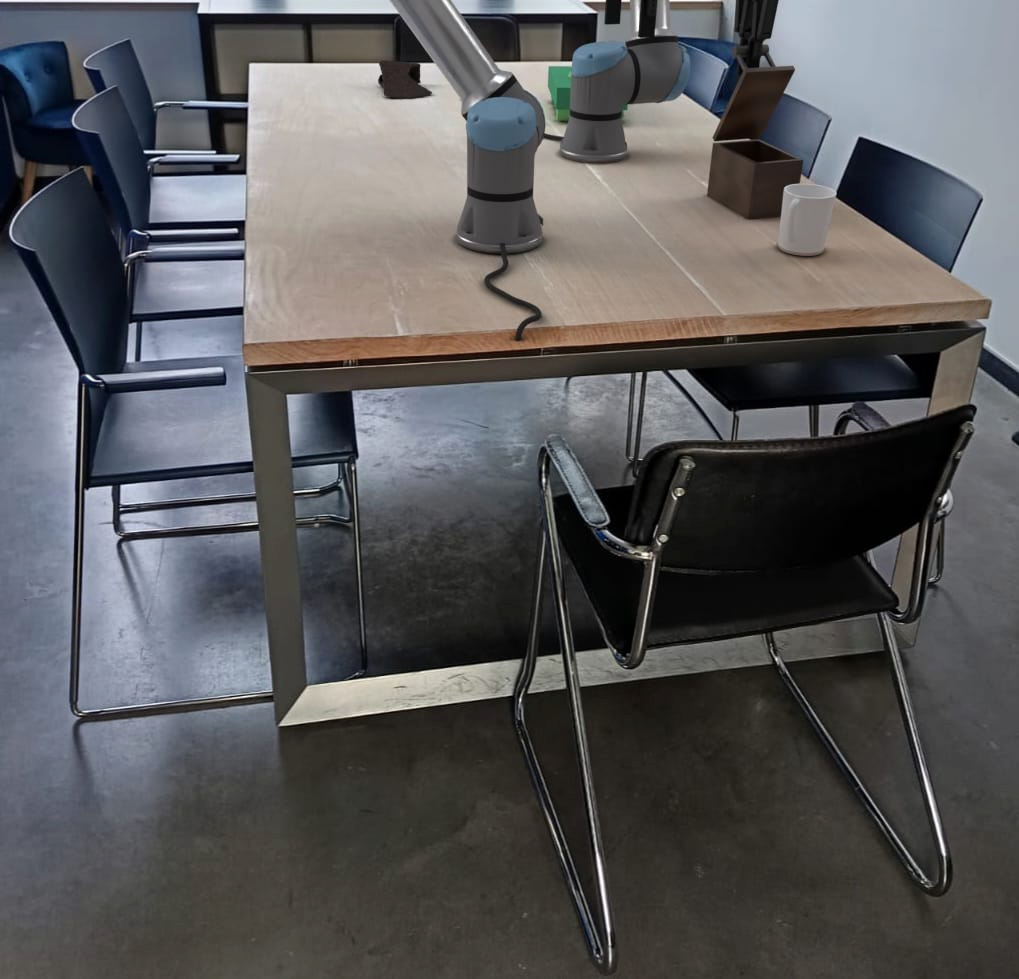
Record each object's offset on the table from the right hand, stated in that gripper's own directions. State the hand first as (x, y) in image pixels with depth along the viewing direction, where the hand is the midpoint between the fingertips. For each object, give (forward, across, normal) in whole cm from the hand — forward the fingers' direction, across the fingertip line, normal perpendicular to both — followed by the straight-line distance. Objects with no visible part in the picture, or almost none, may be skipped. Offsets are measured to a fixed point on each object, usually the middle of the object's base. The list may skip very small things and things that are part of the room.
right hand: (747, 75), depth 211 cm
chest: (+23, -7, 0) cm, 24 cm away
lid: (+5, -4, 0) cm, 6 cm away
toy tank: (+23, +80, -1) cm, 83 cm away
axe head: (+23, +112, +39) cm, 120 cm away
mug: (+23, -34, +6) cm, 41 cm away
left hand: (-11, -10, +31) cm, 35 cm away
